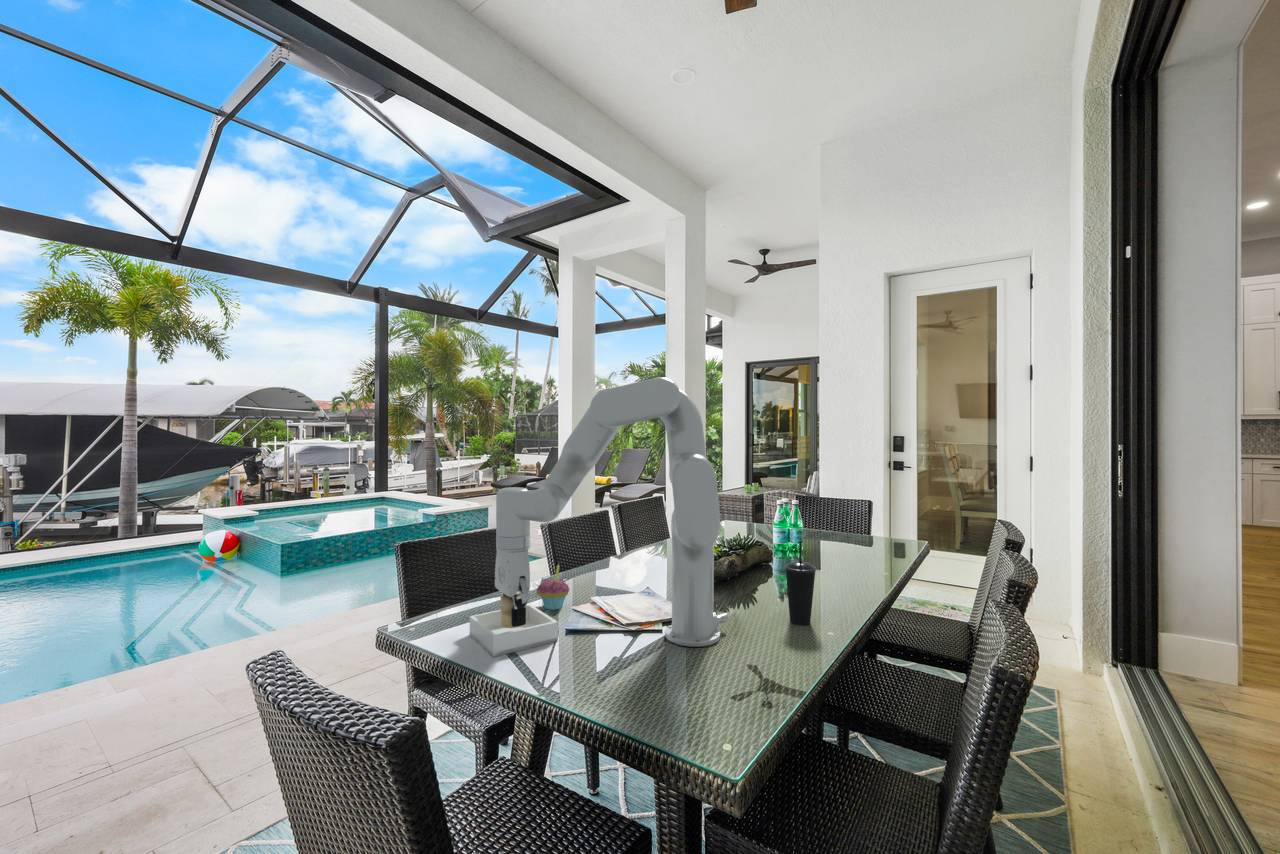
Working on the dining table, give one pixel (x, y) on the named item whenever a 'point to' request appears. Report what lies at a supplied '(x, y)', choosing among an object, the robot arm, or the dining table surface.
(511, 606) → the beige cylinder
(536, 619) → the serving dish
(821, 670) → the dining table surface
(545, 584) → the cupcake
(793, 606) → the drinking cup
